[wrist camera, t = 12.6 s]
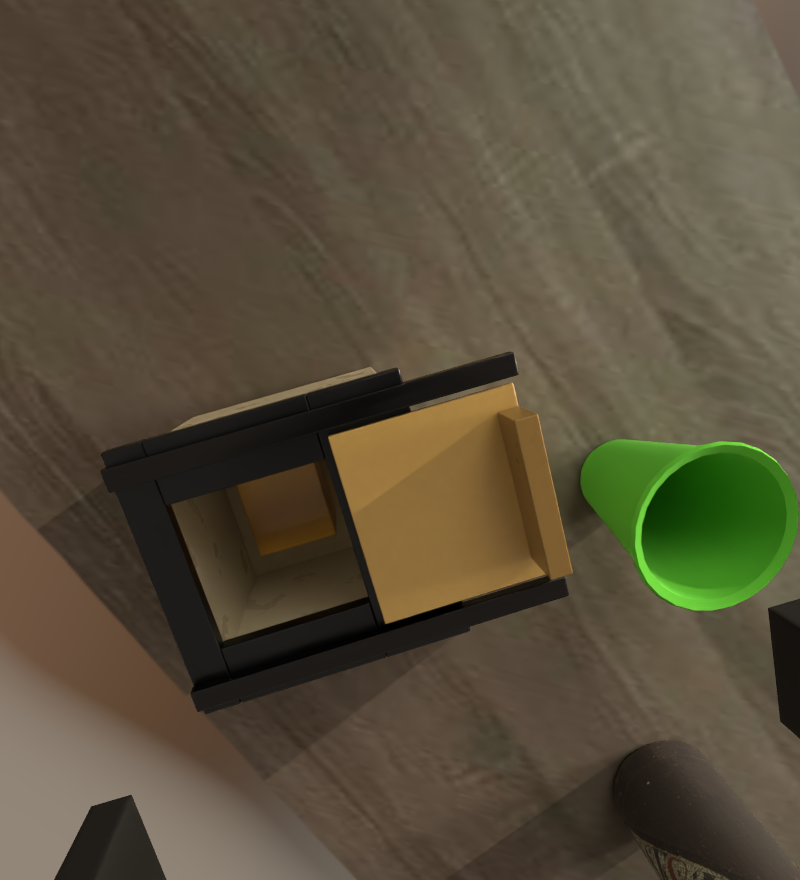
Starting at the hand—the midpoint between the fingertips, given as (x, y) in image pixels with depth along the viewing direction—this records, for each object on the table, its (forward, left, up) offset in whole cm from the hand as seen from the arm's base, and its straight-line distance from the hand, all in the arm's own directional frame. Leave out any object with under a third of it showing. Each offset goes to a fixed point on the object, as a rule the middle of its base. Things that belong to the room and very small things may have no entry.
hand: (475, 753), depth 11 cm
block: (0, -6, -26) cm, 27 cm away
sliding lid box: (0, -2, -27) cm, 27 cm away
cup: (+6, +15, -27) cm, 32 cm away
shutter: (0, +2, -14) cm, 14 cm away
